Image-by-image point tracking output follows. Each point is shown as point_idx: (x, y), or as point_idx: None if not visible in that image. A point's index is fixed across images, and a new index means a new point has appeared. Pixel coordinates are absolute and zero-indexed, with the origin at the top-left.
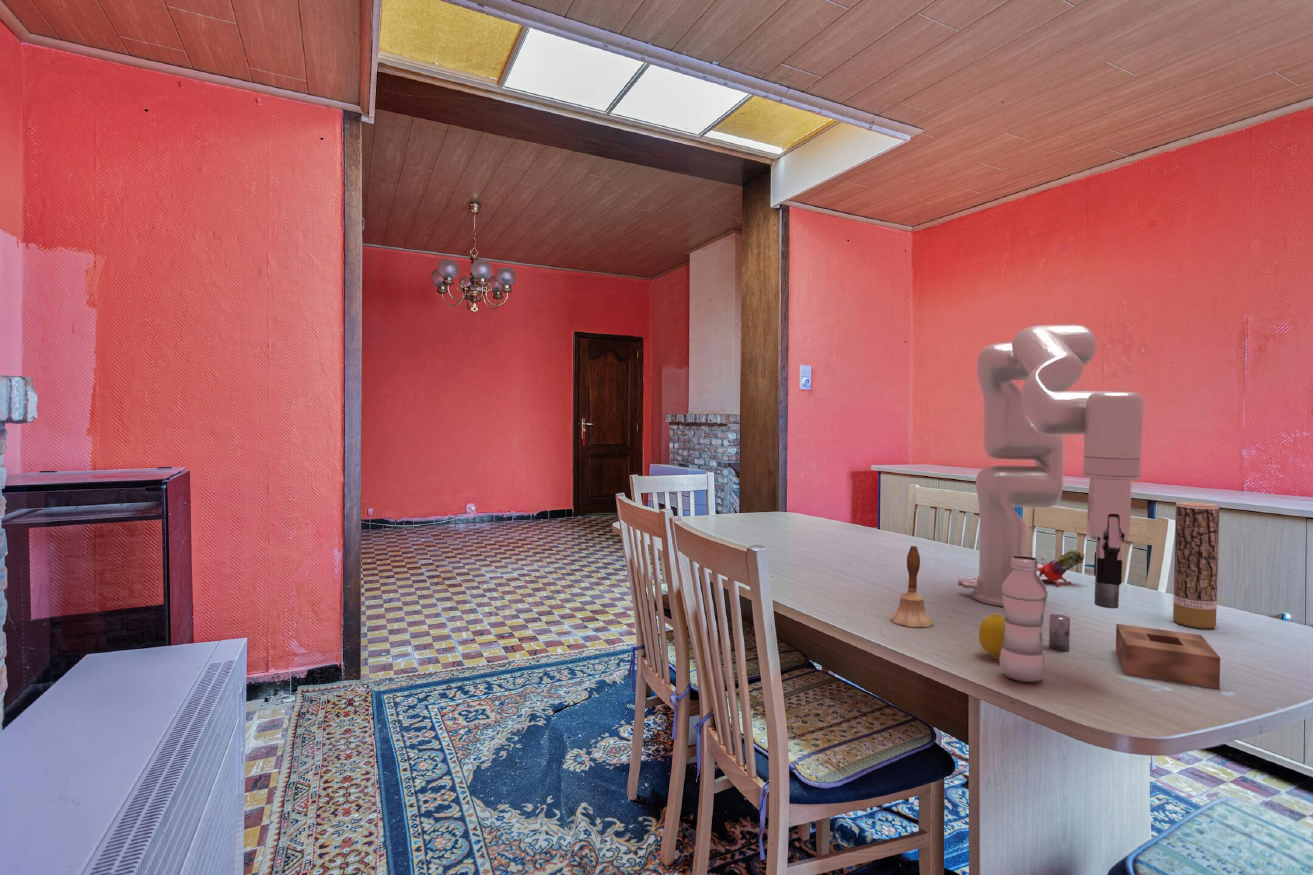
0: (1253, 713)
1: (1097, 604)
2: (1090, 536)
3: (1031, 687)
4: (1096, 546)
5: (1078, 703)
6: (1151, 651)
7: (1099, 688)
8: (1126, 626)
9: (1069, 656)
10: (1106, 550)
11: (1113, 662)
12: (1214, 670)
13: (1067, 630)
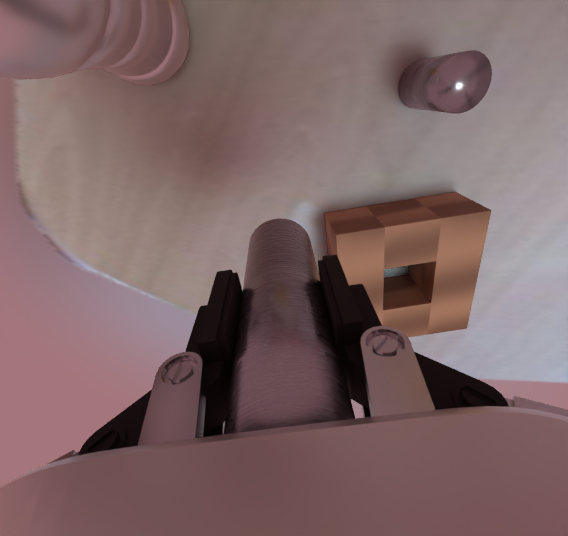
0: None
1: (256, 229)
2: (36, 475)
3: None
4: (405, 347)
5: (106, 155)
6: None
7: (214, 180)
8: (475, 228)
9: (373, 113)
10: (87, 441)
11: (379, 192)
12: None
13: (428, 107)
